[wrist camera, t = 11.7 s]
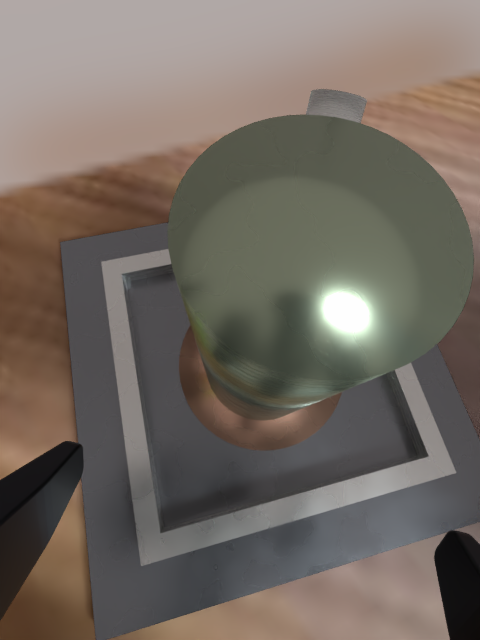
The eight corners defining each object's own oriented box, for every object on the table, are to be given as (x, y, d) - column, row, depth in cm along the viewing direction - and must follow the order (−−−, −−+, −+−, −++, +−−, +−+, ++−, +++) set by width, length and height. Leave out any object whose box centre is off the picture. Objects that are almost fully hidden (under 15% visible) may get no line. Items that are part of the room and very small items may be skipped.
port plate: (102, 632, 15) (86, 657, 14) (65, 249, 21) (52, 232, 20) (499, 508, 18) (528, 515, 16) (362, 194, 24) (372, 175, 22)
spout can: (307, 432, 17) (479, 415, 6) (193, 406, 18) (124, 338, 6) (326, 295, 20) (471, 85, 8) (226, 274, 20) (226, 41, 8)
